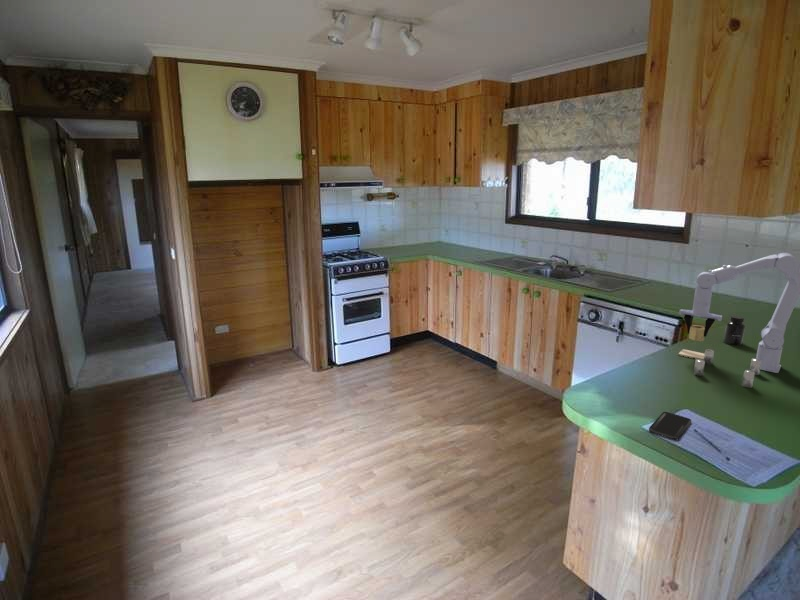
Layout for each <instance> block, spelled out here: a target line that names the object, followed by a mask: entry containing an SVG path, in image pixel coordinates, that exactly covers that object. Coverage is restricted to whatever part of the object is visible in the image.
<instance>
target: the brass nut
mask: <svg viewBox="0 0 800 600" xmlns="http://www.w3.org/2000/svg"><path fill="white" fill-rule="evenodd" d="M704 331H705V326H704V325H700V324H699V325H698V324H697V325H696V324H692V325H691V326H690V332H689V334H688V339H690V340H692V341H694V342H695V341H697V342H698V341H699V342H703V341H704V340H705V338H706V337H704Z"/></svg>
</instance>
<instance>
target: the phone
mask: <svg viewBox="0 0 800 600" xmlns="http://www.w3.org/2000/svg"><path fill="white" fill-rule="evenodd" d="M690 423H691V424H692V419H690V418H688V417H685V416H682V415H678V414H675V413H671V412H668V411H663V412H662V413H661V414H660V415H659V416H658V417H657V418H656V419H655V420H654V422H653V423H652V424H650V426H649V428H648V431H649V432H650V433H652V434H655V433H656V434H655V435H658V434H659V435H658V436H661V435H663V436H662V437H664V436H666V437H665V438H667V437H668V438H667V439H670V438H671V439H670V440H673V439H674V441H677V440H676V439H678V440H680V438H681V437H682V436H683V434H684V433H685V432H686V430H687V429H688V428H687V427H689V426H690V425H691V424H690ZM684 431H685V432H684Z"/></svg>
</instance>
